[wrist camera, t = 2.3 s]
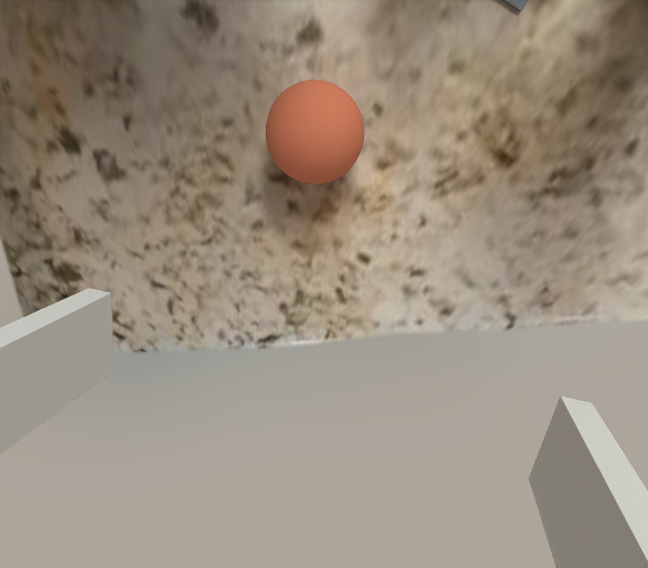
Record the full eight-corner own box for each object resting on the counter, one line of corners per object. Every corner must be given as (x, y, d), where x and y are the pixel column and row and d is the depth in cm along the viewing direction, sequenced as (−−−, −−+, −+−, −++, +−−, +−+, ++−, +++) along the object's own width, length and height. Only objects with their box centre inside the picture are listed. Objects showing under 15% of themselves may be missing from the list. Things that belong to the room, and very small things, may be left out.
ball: (267, 148, 31) (234, 154, 25) (308, 65, 28) (282, 52, 23) (339, 194, 31) (322, 210, 25) (386, 115, 28) (378, 114, 23)
